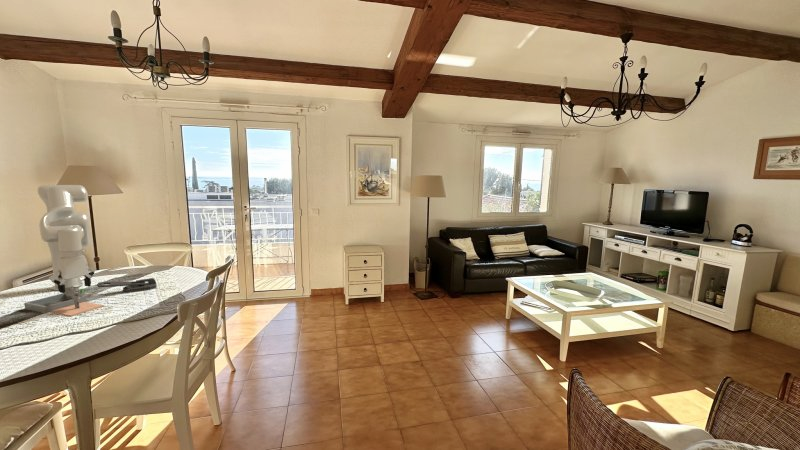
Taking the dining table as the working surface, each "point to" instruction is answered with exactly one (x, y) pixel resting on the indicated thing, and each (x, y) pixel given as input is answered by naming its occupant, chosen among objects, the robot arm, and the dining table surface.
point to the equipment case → (38, 307)
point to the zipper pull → (132, 285)
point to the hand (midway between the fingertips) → (75, 289)
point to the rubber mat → (72, 311)
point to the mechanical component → (75, 294)
